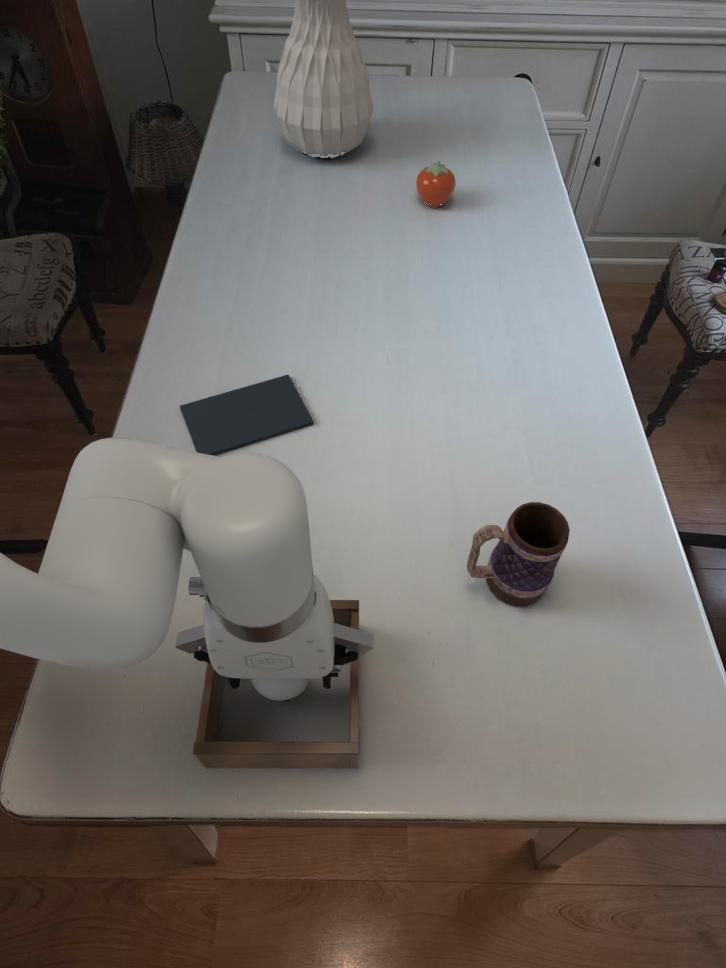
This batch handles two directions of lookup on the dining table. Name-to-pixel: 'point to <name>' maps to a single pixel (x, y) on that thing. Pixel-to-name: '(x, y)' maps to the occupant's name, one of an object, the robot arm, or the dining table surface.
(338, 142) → the vase
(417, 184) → the tomato
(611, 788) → the dining table surface
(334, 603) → the brown wooden square frame
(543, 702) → the dining table surface
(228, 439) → the mat
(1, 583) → the robot arm
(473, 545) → the mug
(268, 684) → the light bulb
